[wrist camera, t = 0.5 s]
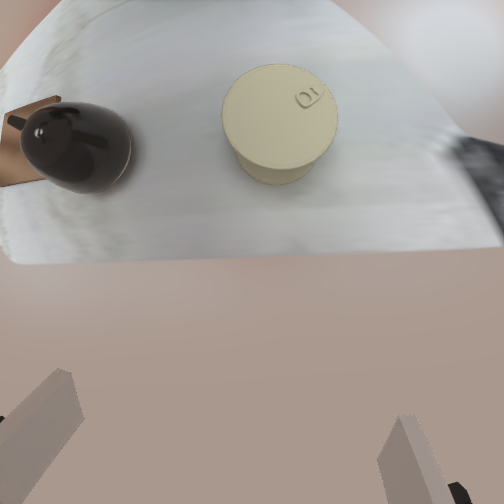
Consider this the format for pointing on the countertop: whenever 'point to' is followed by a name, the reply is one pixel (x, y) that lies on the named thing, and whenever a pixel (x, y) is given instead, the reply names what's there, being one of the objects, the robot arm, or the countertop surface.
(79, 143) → the pump dispenser
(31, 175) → the walnut board
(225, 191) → the countertop surface
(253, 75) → the can
